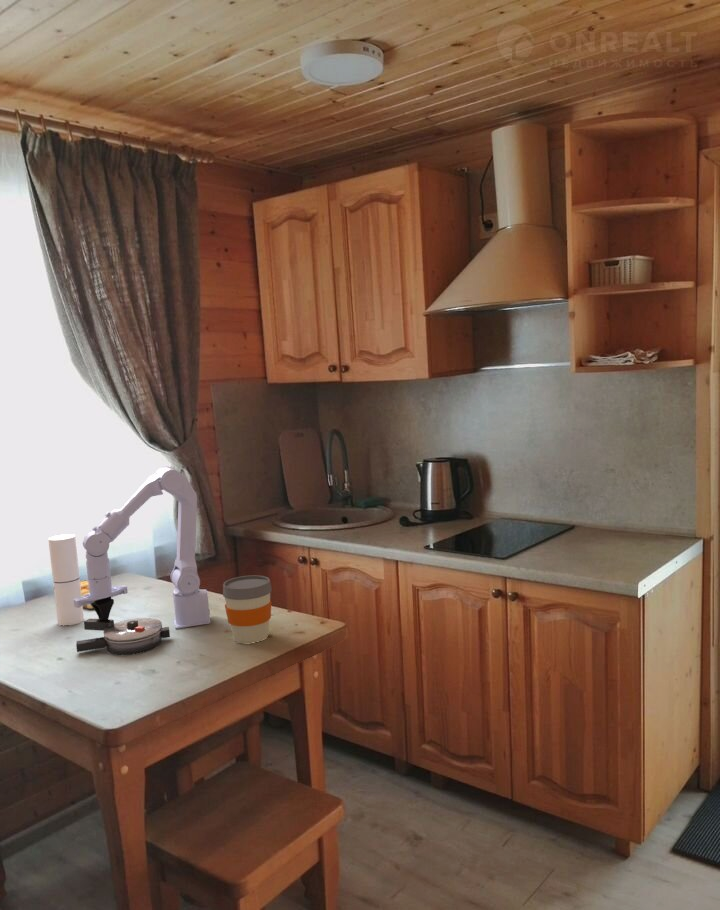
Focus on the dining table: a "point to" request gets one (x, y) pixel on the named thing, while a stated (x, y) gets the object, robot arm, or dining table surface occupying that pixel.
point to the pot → (124, 644)
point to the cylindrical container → (65, 578)
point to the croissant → (85, 592)
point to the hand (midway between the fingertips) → (104, 626)
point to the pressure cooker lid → (125, 628)
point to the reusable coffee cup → (248, 607)
